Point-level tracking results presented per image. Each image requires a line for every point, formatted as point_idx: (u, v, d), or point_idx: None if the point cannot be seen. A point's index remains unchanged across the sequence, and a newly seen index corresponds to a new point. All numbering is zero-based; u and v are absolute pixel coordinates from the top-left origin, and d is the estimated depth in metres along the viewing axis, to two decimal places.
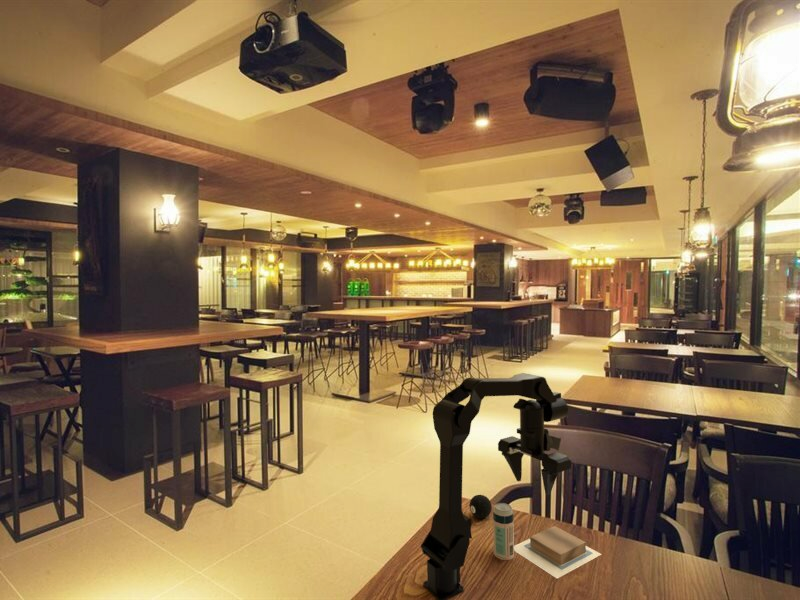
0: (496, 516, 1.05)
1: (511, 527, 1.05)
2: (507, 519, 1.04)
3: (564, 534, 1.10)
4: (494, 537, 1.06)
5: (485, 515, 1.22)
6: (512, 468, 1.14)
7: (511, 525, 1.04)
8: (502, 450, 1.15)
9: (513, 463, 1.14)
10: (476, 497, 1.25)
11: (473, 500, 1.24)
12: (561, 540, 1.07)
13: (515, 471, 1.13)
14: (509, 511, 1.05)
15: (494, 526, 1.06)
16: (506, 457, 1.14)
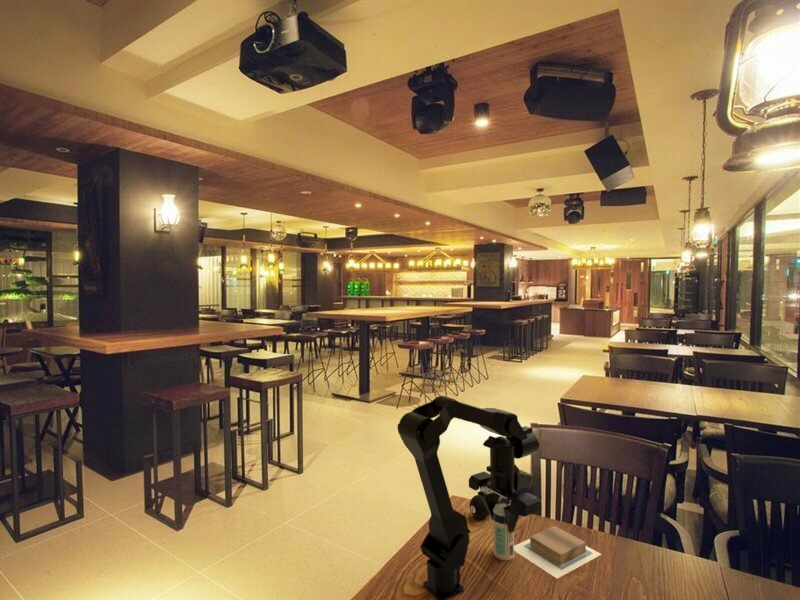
0: (496, 516, 1.05)
1: None
2: None
3: (564, 534, 1.10)
4: (494, 537, 1.06)
5: (485, 515, 1.22)
6: (488, 509, 1.08)
7: None
8: (472, 487, 1.11)
9: (489, 504, 1.08)
10: (476, 497, 1.25)
11: (473, 500, 1.24)
12: (561, 540, 1.07)
13: (491, 513, 1.08)
14: None
15: (494, 526, 1.06)
16: (482, 498, 1.08)
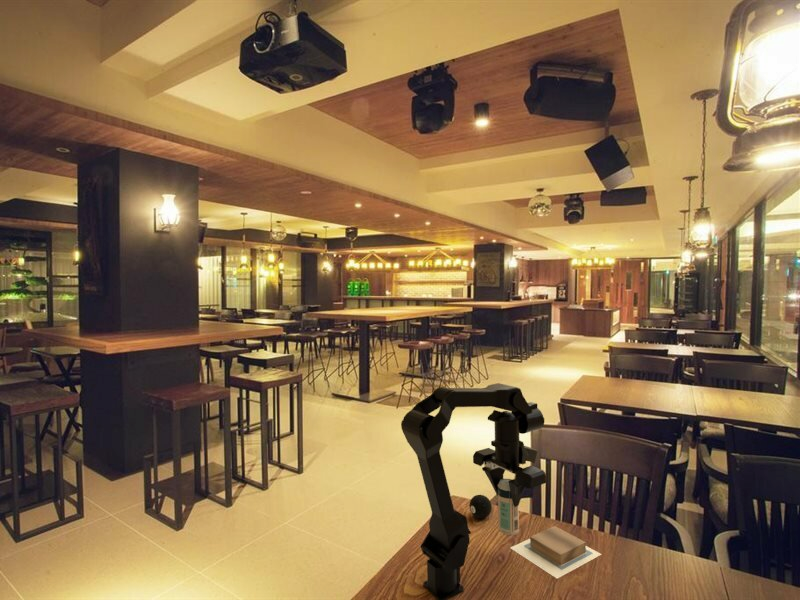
0: (501, 491, 1.05)
1: None
2: None
3: (564, 534, 1.10)
4: (499, 512, 1.06)
5: (485, 515, 1.22)
6: (493, 484, 1.08)
7: None
8: (477, 463, 1.11)
9: (494, 479, 1.08)
10: (476, 497, 1.25)
11: (473, 500, 1.24)
12: (561, 540, 1.07)
13: (496, 487, 1.08)
14: None
15: (499, 501, 1.06)
16: (487, 473, 1.08)
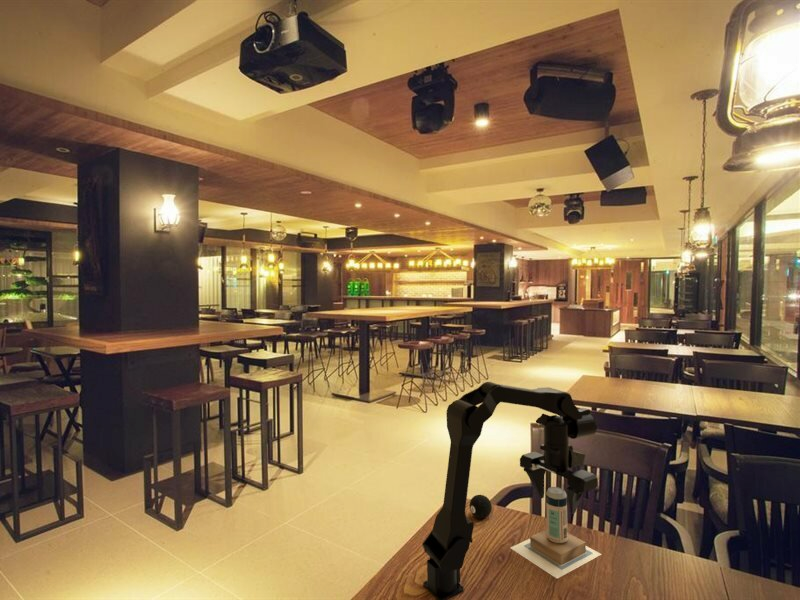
0: (550, 499, 1.06)
1: (565, 510, 1.06)
2: (561, 502, 1.05)
3: None
4: (547, 520, 1.07)
5: (485, 515, 1.22)
6: (535, 485, 1.11)
7: (565, 508, 1.06)
8: (524, 466, 1.12)
9: (536, 480, 1.11)
10: (476, 497, 1.25)
11: (473, 500, 1.24)
12: None
13: (538, 488, 1.11)
14: (563, 494, 1.06)
15: (547, 509, 1.07)
16: (529, 473, 1.11)
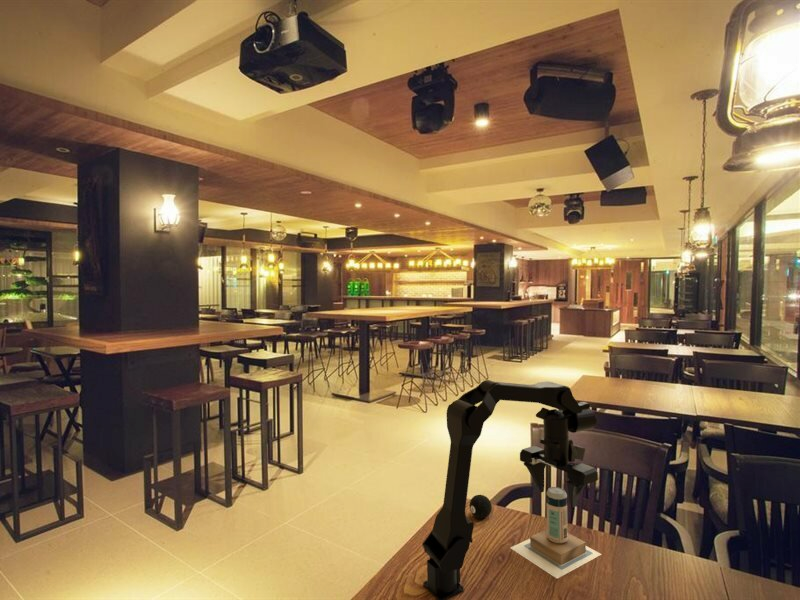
0: (550, 499, 1.06)
1: (565, 510, 1.06)
2: (561, 502, 1.05)
3: None
4: (547, 520, 1.07)
5: (485, 515, 1.22)
6: (535, 479, 1.11)
7: (565, 508, 1.06)
8: (524, 460, 1.12)
9: (536, 474, 1.11)
10: (476, 497, 1.25)
11: (473, 500, 1.24)
12: None
13: (538, 482, 1.11)
14: (563, 494, 1.06)
15: (548, 509, 1.07)
16: (529, 468, 1.11)
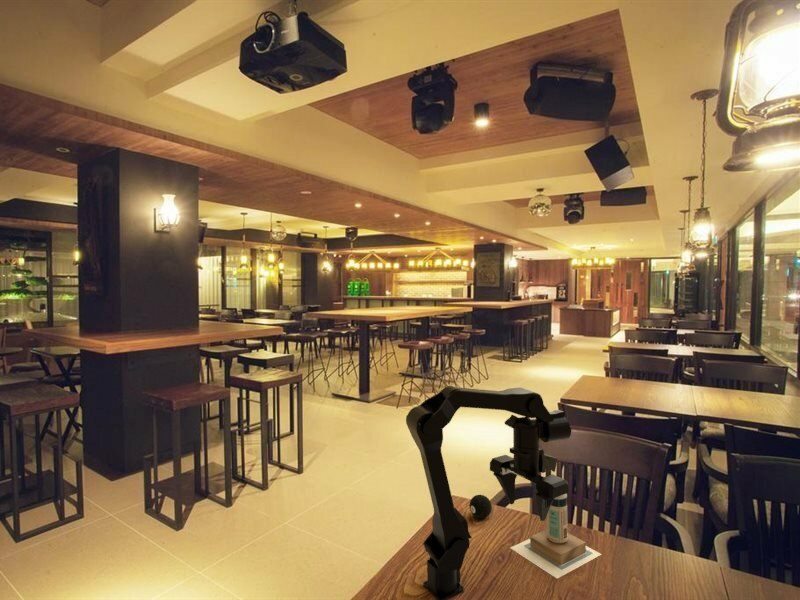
0: None
1: (565, 510, 1.06)
2: (561, 502, 1.05)
3: None
4: (547, 520, 1.07)
5: (485, 515, 1.22)
6: (505, 490, 1.05)
7: (565, 508, 1.06)
8: (494, 470, 1.06)
9: (506, 484, 1.05)
10: (476, 497, 1.25)
11: (473, 500, 1.24)
12: None
13: (508, 493, 1.05)
14: None
15: None
16: (498, 478, 1.06)
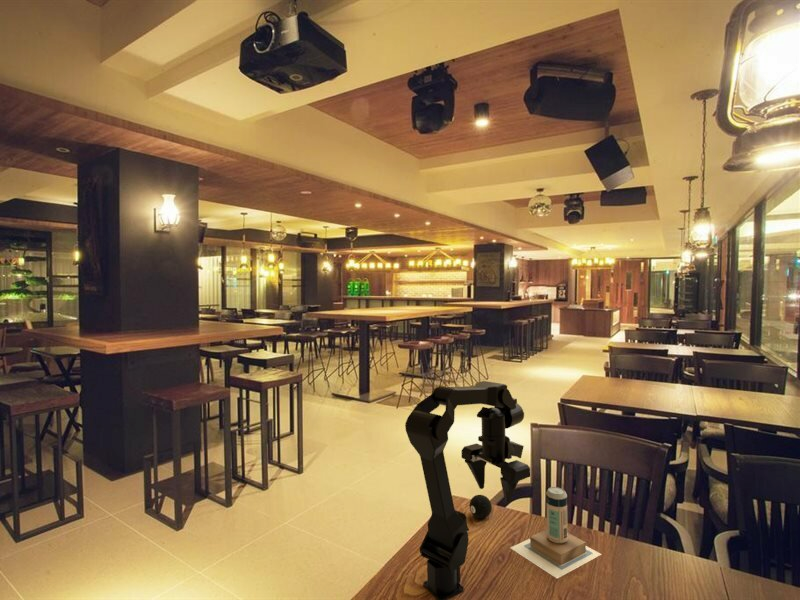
0: (550, 499, 1.06)
1: (565, 510, 1.06)
2: (561, 502, 1.05)
3: None
4: (547, 520, 1.07)
5: (485, 515, 1.22)
6: (475, 476, 1.13)
7: (565, 508, 1.06)
8: (465, 457, 1.14)
9: (476, 471, 1.13)
10: (476, 497, 1.25)
11: (473, 500, 1.24)
12: None
13: (478, 479, 1.13)
14: (563, 494, 1.06)
15: (548, 509, 1.07)
16: (469, 465, 1.14)
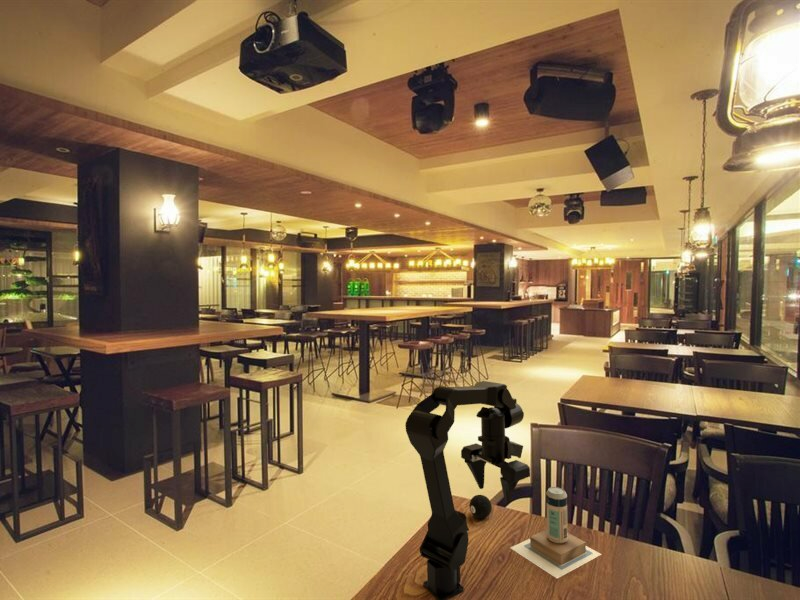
0: (550, 499, 1.06)
1: (565, 510, 1.06)
2: (561, 502, 1.05)
3: None
4: (547, 520, 1.07)
5: (485, 515, 1.22)
6: (474, 476, 1.13)
7: (565, 508, 1.06)
8: (465, 457, 1.14)
9: (475, 471, 1.13)
10: (476, 497, 1.25)
11: (473, 500, 1.24)
12: None
13: (477, 479, 1.13)
14: (563, 494, 1.06)
15: (548, 509, 1.07)
16: (468, 465, 1.14)
